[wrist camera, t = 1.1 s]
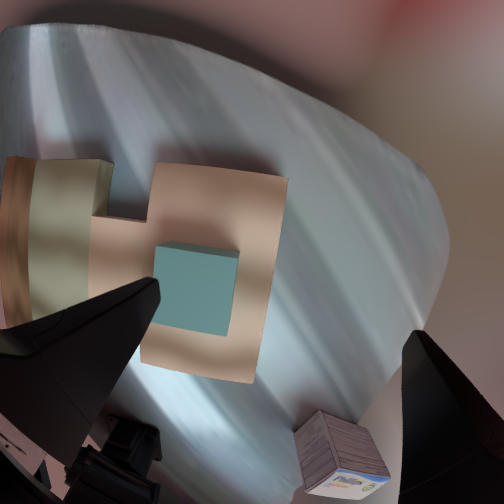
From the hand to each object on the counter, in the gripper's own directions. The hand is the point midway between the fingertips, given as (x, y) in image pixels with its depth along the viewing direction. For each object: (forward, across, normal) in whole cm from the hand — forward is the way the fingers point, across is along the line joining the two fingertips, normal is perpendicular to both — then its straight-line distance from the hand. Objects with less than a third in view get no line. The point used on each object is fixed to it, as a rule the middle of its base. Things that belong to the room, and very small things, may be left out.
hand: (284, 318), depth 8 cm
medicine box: (+7, -8, +22) cm, 25 cm away
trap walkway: (+9, +14, +6) cm, 17 cm away
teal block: (+8, +6, +5) cm, 11 cm away
